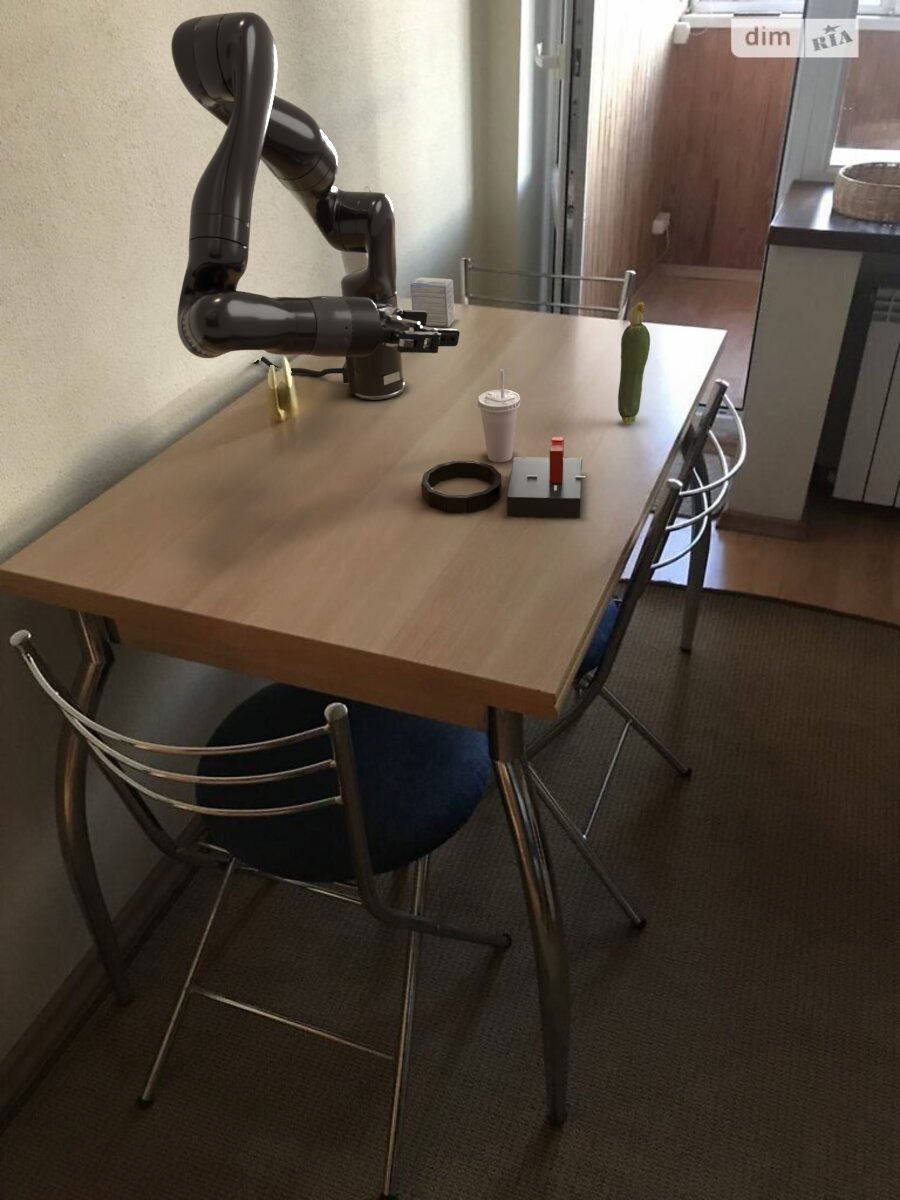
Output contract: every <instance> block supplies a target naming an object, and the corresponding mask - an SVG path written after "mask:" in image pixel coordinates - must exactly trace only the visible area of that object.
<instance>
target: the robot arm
mask: <svg viewBox="0 0 900 1200" xmlns="http://www.w3.org/2000/svg"><path fill="white" fill-rule="evenodd" d="M170 43H171V44H170V45H171V47H170V48H171V49H170V50H171V56H172V61H173V64H174V68H175V71H176V73H177V75H178V77H179V80H180V82H181V83H182V85H183V86H184V88H185V89H186V91H187V92H188V93H189V95H190V96H191V97H192V98H193V99H194V100H195V101H196V102H197V103H198V104H199V105H200V106H201V107H202V108H204V109H205V110H206V111H207V112H209V113H210V114H211V115H212V116H213V117H214V118H216V119H217V120H218V121H220V122H221V123H222V124H223V125H224V126H225V127H227V128H226V129H225V131H224V134H223V137H222V138H221V141H220V142H219V144H218V146H217V148H216V150H215V152H214V154H213V155H212V157H211V159H210V160H209V161H208V163H207V165H206V167H205V169H204V170H203V173H202V174H201V176H200V178H199V180H198V182H197V184H196V187H195V190H194V193H193V197H192V200H191V204H190V205H191V207H190V215H189V217H190V218H189V232H188V233H189V234H188V259H187V265H186V269H185V272H184V276H183V281H182V285H181V290H180V295H179V300H178V306H177V313H176V314H177V315H176V323H177V324H176V325H177V332H178V336H179V339H180V341H181V343H182V345H183V346H184V348H185V349H186V350H187V351H188V352H189V353H190V354H191V355H193V356H196V357H197V358H202V359H216V358H218V357H221V356H224V355H226V354H228V353H231V352H238V351H264V352H266V353H268V354H271V355H278V356H279V355H280V356H301V355H302V356H304V355H305V356H313V357H321V358H322V357H323V358H331V357H332V358H335V357H337V358H338V357H342V358H343V357H344V358H345V362H344V363H343V365H342V367H330V368H324V369H322V370H312V369H309V368H303V367H290V368H291V371H292V373H291V374H302V375H307V376H312V377H324V376H327V375H331V374H332V375H333V374H342V381H343V384H348V391H349V396H350V397H356V398H358V399H361V400H368V401H378V400H387V399H390V398H391V399H392V398H394V397H396V396H398V395H400V394H402V393H403V392H405V391H404V390H405V388H406V386H405V379H404V370H403V369H404V367H403V357H402V356H403V355H402V354H403V353H404V354H405V353H409V354H413V353H414V354H438V353H439V348H440V347H456V346H457V345H459V340H460V330H458V329H456V328H435V327H430V326H426V320H427V313H426V312H425V311H420V310H412V309H403V308H400V307H398V296H397V252H396V251H397V249H396V247H397V246H396V218H395V217H396V216H395V210H394V205H393V203H392V201H391V199H390V197H389V196H388V195H387V194H386V193H384V192H380V191H379V192H377V191H372V192H370V191H365V192H363V191H347V190H342V189H339V188H338V187H337V186H336V185H335V182H336V178H337V174H338V169H339V168H338V167H339V161H338V159H339V158H338V153H337V150H336V148H335V146H334V144H333V141H331V139H330V138H329V136H328V135H327V134H326V132H325V131H324V130H323V128H322V126H320V124H319V123H318V122H317V121H316V120H315V118H314V117H313V116H311V115H310V113H308V112H307V111H305V110H304V109H302V108H300V107H299V106H297V105H296V104H293V103H291V102H290V101H288V100H286V99H284V98H281V97H279V96H277V95H275V92H276V87H277V79H278V78H277V77H278V52H277V47H276V42H275V39H274V36H273V33H272V30H271V29H270V27H269V25H268V23H267V22H266V21H265V19H264V18H263V17H262V16H261V15H259V14H257V13H255V12H251V11H235V12H225V13H218V14H208V15H202V16H196V17H192V18H189V19H187V20H183V21H182V22H180V23H179V25H178V26H177V27H176V28H175V29H174V32H173V34H172V37H171V42H170ZM260 162H262V163H263V165H264V166H265V167H266V169H268V171H269V172H270V174H271V175H272V176H273V177H274V178H275V179H276V180H277V181H278V182H279V184H281V185H282V186H283V188H285V189H286V190H287V191H288V192H289V193H290V194H291V195H292V197H294V199H295V200H296V201H297V202H298V204H299V205H300V206H301V207H302V208H303V210H304V211H305V212H306V214H307V215H308V216H309V217H310V219H311V220H312V222H313V223H314V225H315V226H316V228H317V229H318V231H319V233H320V234H321V236H322V237H323V238H324V240H325V241H326V242H327V243H328V245H329V246H330V247H331V248H332V249H334V250H336V251H338V252H341V251H342V252H350V253H368V265H367V266H366V267H364V268H362V269H359V270H355V271H353V272H350V273H348V274H347V275H346V274H345V275H344V276H343V277H342V278H341V280H340V292H341V296H339V295H337V296H335V295H333V296H332V295H317V296H307V297H306V296H305V297H302V296H301V297H300V296H275V297H274V296H268V295H264V294H258V293H254V292H248V291H247V292H246V291H241V290H237V288H238V285H239V282H240V280H241V279H242V277H243V276H244V274H245V272H246V270H247V268H248V263H249V251H250V237H251V221H252V220H251V219H252V207H253V201H254V200H253V198H254V192H255V186H256V180H257V175H258V170H259V166H260ZM411 328H412V329H413V330H412V331H410V330H411ZM261 356H262V358H261V361H259V360H257V361H256V362H254V363H253V362H252V364H253V365H257V364H259V363H260V362H261V363H263V364H265V365H266V366H267V367H268V368H270V365H274V366H275V367H277V368H278V367H279V366H278V365H276V364H274V363H273V362H272V361H270V360H269V359H268V358H267V357H265V356H264V355H261Z"/></svg>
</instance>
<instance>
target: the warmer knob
mask: <svg viewBox="0 0 900 1200" xmlns="http://www.w3.org/2000/svg"><path fill="white" fill-rule="evenodd" d="M549 444H550V445H549V458H550V472H549V483H562V481H563V461H564V458H565V457H564V455H565V454H564V453H565V438H564V437H562V436H551V438H550V443H549Z"/></svg>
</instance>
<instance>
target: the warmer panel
mask: <svg viewBox="0 0 900 1200" xmlns="http://www.w3.org/2000/svg"><path fill="white" fill-rule="evenodd" d="M512 458H513V459H512V464H511V470H510V474H509V475H510V476H509V480H508V481H509V482H508V488H507V493H506V516H508V517H541V518H542V517H544V518H548V517H549V518H581V503H582V502H581V501H582V479H586V478H587V476H586V475H583V473H582V472H583V458H582V457H564V461H563V481H562V483H549V472H550V457H536V456H535V457H531V456H529V457H528V456H525V457H524V456H514V457H512Z"/></svg>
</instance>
